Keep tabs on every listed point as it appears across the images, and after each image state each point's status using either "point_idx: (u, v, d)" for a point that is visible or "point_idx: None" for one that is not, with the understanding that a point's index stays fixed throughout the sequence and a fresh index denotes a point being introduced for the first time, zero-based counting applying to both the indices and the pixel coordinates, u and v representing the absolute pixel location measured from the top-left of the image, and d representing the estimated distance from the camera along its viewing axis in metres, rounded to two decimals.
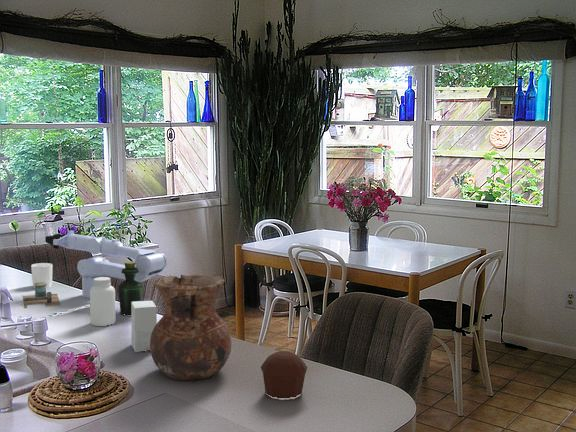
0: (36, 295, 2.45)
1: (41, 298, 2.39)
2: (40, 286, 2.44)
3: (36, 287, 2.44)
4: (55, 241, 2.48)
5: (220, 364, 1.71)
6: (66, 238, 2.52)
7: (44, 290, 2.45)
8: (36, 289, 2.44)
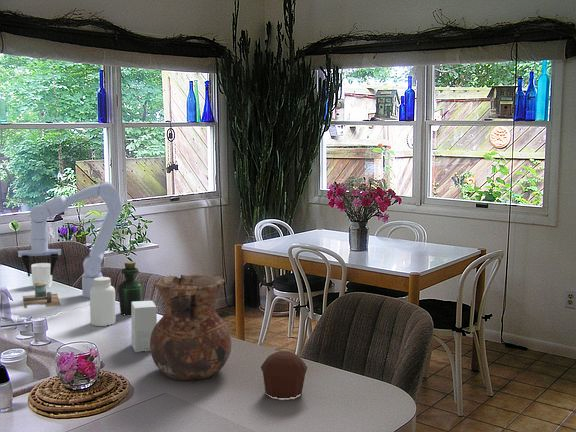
0: (36, 295, 2.45)
1: (41, 298, 2.39)
2: (40, 286, 2.44)
3: (36, 287, 2.44)
4: (18, 253, 2.42)
5: (220, 364, 1.71)
6: None
7: (44, 290, 2.45)
8: (36, 289, 2.44)
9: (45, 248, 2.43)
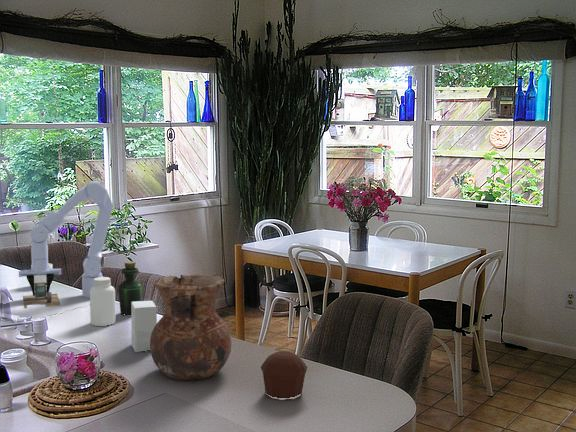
0: (36, 295, 2.45)
1: (41, 298, 2.39)
2: (40, 286, 2.44)
3: (36, 287, 2.44)
4: None
5: (220, 364, 1.71)
6: None
7: (44, 290, 2.45)
8: (36, 289, 2.44)
9: (46, 268, 2.44)
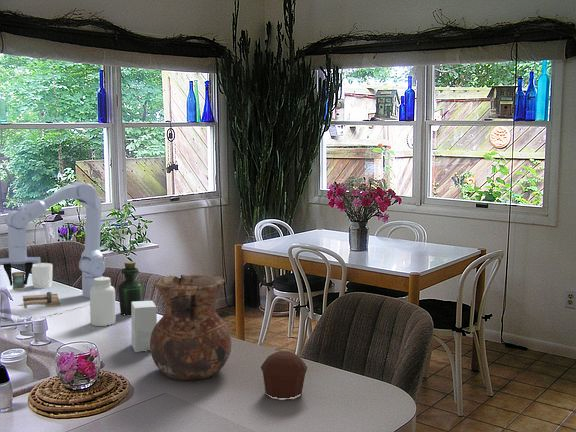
0: (14, 286, 2.31)
1: (41, 298, 2.39)
2: (18, 276, 2.31)
3: (14, 277, 2.31)
4: None
5: (220, 364, 1.71)
6: None
7: (22, 280, 2.32)
8: (14, 279, 2.31)
9: (24, 257, 2.30)
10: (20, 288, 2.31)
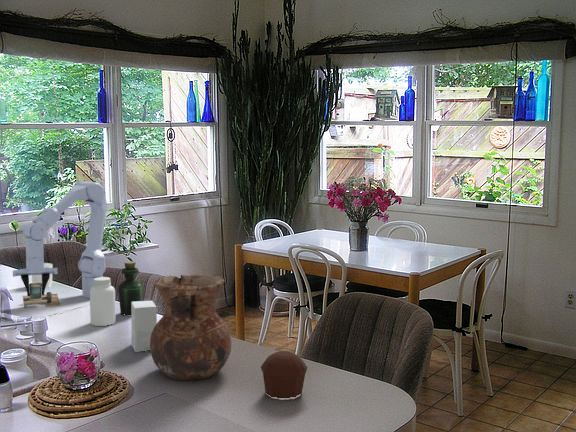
0: (31, 296, 2.34)
1: None
2: (35, 287, 2.33)
3: (31, 288, 2.33)
4: None
5: (220, 364, 1.71)
6: None
7: (39, 291, 2.34)
8: (31, 290, 2.33)
9: (41, 268, 2.33)
10: (37, 299, 2.34)
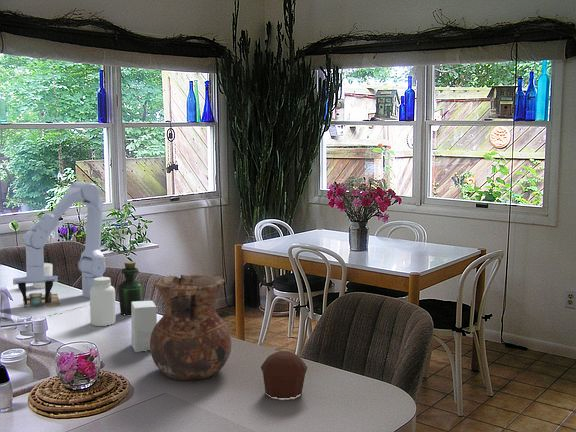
0: (31, 306, 2.34)
1: None
2: (35, 297, 2.34)
3: (31, 298, 2.34)
4: (13, 280, 2.32)
5: (220, 364, 1.71)
6: None
7: (39, 301, 2.35)
8: (31, 300, 2.34)
9: (41, 276, 2.33)
10: None
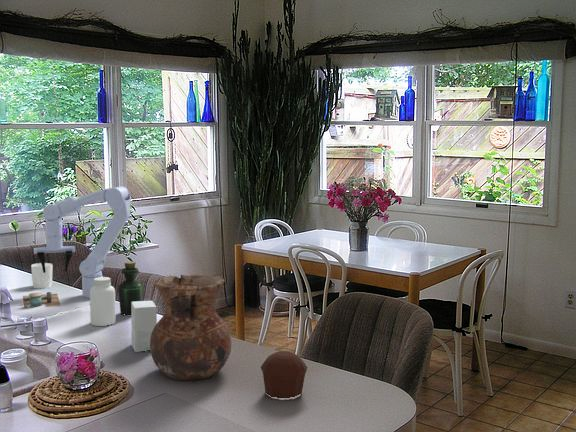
0: (31, 306, 2.34)
1: (41, 298, 2.39)
2: (35, 297, 2.34)
3: (31, 298, 2.34)
4: None
5: (220, 364, 1.71)
6: None
7: (39, 301, 2.35)
8: (31, 300, 2.34)
9: (60, 246, 2.50)
10: None
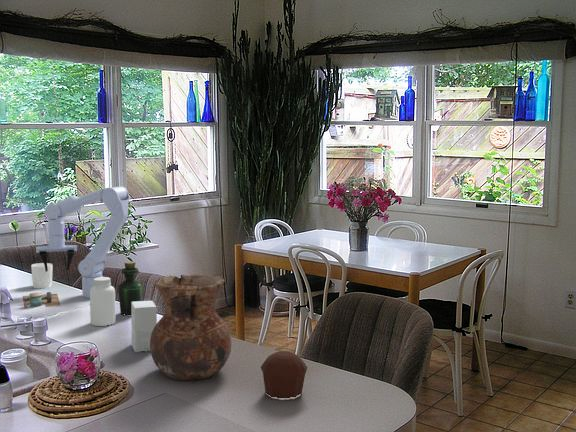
0: (31, 306, 2.34)
1: None
2: (35, 297, 2.34)
3: (31, 298, 2.34)
4: (36, 249, 2.51)
5: (220, 364, 1.71)
6: None
7: (39, 301, 2.35)
8: (31, 300, 2.34)
9: (62, 245, 2.52)
10: None
